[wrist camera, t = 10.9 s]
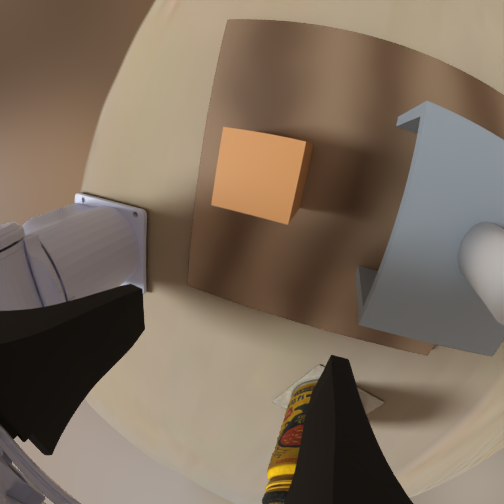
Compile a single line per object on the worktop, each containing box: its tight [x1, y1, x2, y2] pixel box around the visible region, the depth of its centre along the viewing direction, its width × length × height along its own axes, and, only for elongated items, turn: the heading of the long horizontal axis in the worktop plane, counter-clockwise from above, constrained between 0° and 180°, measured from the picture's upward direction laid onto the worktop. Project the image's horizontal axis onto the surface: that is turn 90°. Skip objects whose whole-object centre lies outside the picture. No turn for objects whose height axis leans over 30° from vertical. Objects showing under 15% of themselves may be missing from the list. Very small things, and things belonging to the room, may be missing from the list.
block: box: [211, 127, 314, 225], centre depth 14 cm, size 4×4×4 cm
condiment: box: [262, 365, 385, 504], centre depth 17 cm, size 7×8×12 cm
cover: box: [355, 101, 504, 356], centre depth 10 cm, size 9×10×9 cm
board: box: [187, 19, 504, 356], centre depth 15 cm, size 20×20×1 cm
